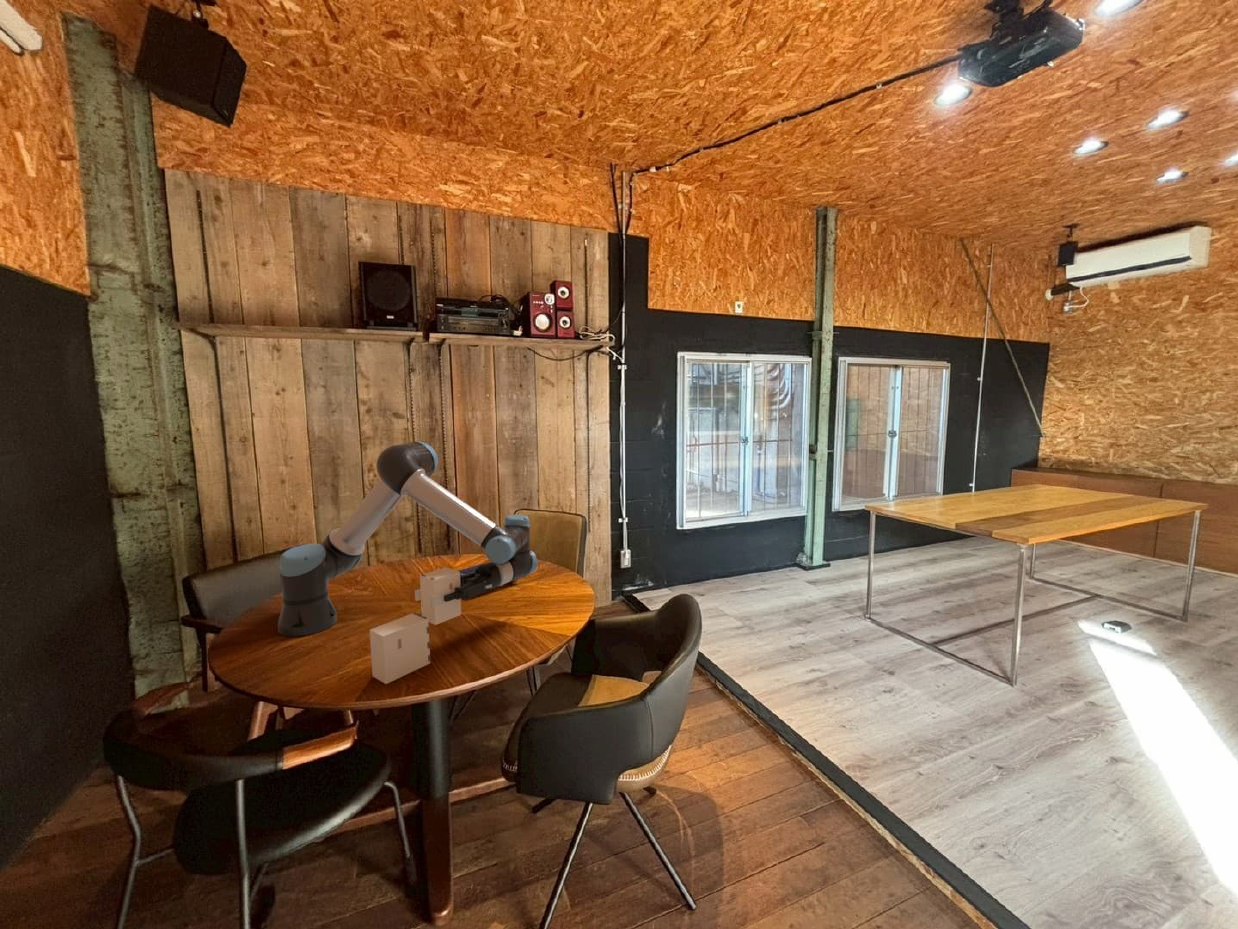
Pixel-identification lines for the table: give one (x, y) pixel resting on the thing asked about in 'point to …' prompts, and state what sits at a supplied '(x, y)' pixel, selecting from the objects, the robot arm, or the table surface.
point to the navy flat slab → (469, 570)
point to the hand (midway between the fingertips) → (423, 598)
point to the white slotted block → (399, 647)
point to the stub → (436, 585)
